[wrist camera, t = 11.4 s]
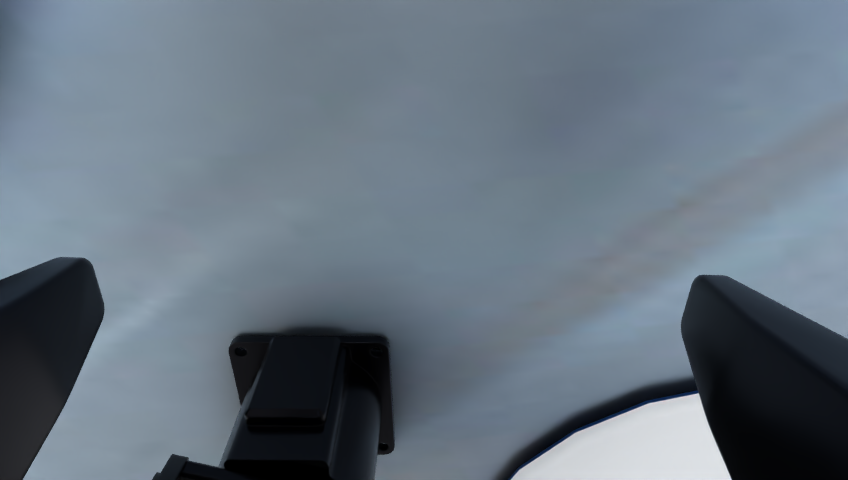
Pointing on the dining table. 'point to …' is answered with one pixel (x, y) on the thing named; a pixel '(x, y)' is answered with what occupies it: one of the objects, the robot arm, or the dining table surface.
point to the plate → (635, 446)
